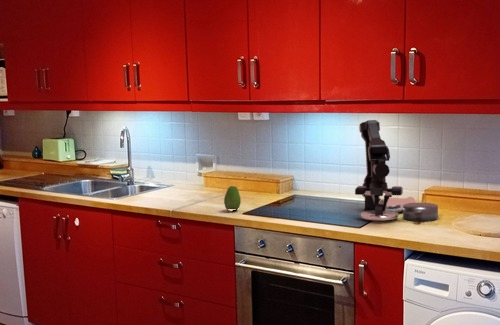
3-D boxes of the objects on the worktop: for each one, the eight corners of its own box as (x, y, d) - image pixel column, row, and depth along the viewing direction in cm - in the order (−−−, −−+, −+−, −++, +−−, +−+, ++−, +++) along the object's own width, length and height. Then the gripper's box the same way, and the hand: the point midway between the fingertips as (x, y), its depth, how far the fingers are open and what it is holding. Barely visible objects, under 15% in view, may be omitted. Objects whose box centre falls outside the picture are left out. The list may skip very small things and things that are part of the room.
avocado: (243, 211, 275) (242, 186, 273) (227, 213, 272) (225, 188, 271) (238, 208, 282) (237, 183, 281) (222, 210, 280) (221, 185, 279)
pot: (399, 223, 237) (399, 211, 236) (405, 213, 254) (404, 202, 253) (436, 224, 232) (436, 212, 231) (439, 214, 249) (439, 202, 248)
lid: (357, 219, 241) (357, 207, 241) (364, 212, 255) (364, 200, 255) (395, 221, 236) (395, 208, 235) (400, 213, 250) (399, 201, 249)
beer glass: (418, 203, 255) (389, 206, 249) (412, 214, 259) (383, 218, 254) (410, 192, 260) (381, 195, 254) (404, 203, 264) (376, 207, 259)
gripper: (351, 176, 240) (353, 214, 242) (399, 177, 233) (399, 216, 235) (357, 172, 250) (358, 208, 252) (402, 172, 243) (403, 210, 245)
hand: (379, 211), depth 246 cm, fingers closed on lid, 3 cm apart
